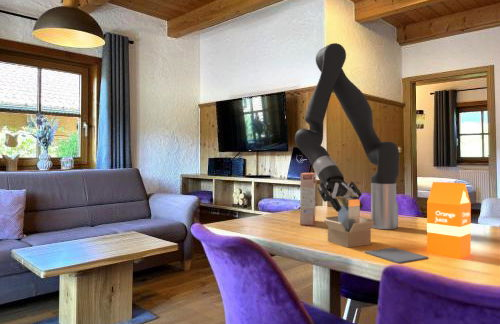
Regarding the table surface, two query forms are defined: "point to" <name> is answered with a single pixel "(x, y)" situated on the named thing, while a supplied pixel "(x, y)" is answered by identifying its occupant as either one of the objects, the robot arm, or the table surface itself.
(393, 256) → the felt mat
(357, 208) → the tall two-tone pillar
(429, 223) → the orange juice
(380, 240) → the table surface
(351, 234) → the carton
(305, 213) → the cracker box
